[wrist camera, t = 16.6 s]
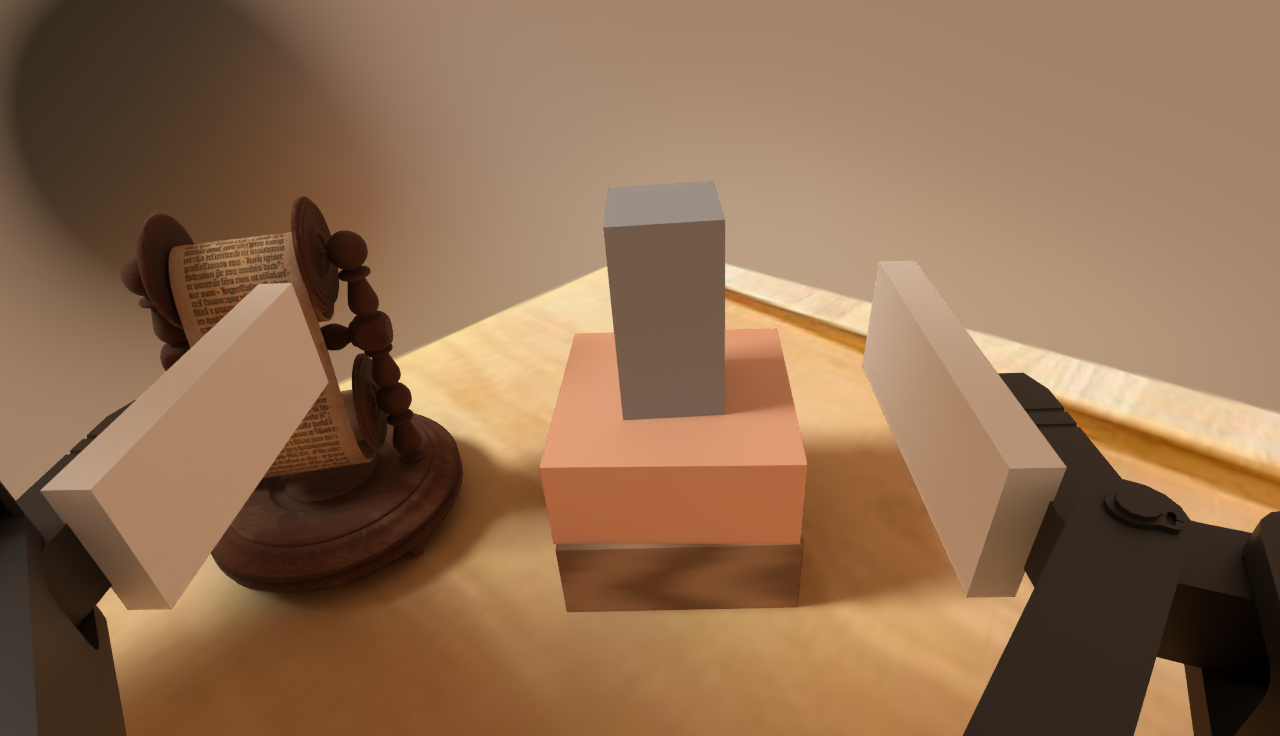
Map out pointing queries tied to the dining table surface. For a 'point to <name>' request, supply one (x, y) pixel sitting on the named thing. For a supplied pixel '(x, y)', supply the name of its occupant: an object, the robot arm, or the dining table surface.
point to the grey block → (667, 298)
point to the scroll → (336, 423)
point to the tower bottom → (679, 576)
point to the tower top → (676, 456)
